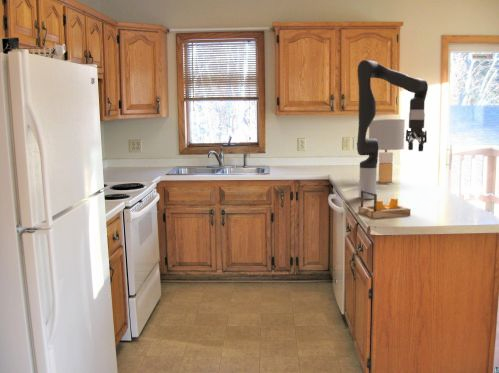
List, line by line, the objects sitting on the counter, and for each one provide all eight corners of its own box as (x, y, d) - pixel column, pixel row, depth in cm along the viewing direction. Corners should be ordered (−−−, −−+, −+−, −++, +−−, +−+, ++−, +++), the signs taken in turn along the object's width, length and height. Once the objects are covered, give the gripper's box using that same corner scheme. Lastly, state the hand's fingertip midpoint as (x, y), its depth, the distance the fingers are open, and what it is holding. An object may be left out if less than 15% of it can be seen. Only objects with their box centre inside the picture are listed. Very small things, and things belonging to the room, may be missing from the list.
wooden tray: (358, 212, 254) (358, 189, 253) (392, 209, 260) (393, 187, 258) (374, 218, 240) (375, 194, 239) (410, 215, 246) (411, 192, 244)
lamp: (376, 185, 339) (378, 120, 332) (362, 180, 361) (363, 119, 354) (409, 183, 343) (411, 119, 337) (392, 179, 365) (394, 119, 359)
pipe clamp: (390, 210, 255) (391, 197, 254) (397, 212, 251) (397, 198, 250) (372, 213, 249) (372, 200, 248) (379, 215, 245) (379, 201, 244)
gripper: (402, 118, 271) (401, 149, 274) (418, 119, 258) (417, 152, 260) (414, 118, 273) (413, 149, 276) (431, 118, 260) (430, 151, 262)
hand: (415, 150), depth 268 cm, fingers open, 8 cm apart
